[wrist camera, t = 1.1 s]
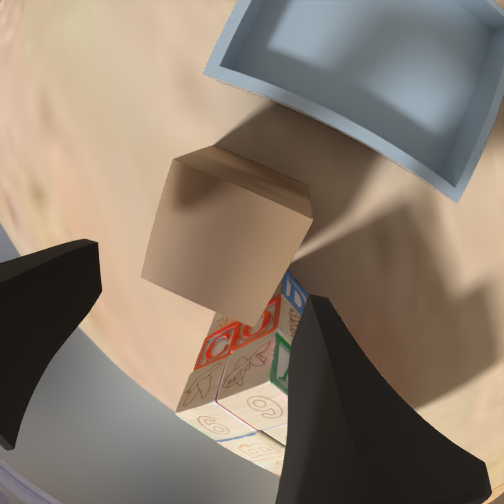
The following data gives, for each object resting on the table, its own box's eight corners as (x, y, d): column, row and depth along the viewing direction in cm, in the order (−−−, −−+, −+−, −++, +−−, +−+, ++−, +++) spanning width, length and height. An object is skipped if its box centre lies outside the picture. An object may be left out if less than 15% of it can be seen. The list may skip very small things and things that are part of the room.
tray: (495, 33, 9) (520, 26, 6) (434, 189, 15) (457, 203, 12) (302, -74, 8) (302, -98, 6) (218, 81, 14) (202, 73, 11)
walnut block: (307, 185, 16) (313, 220, 11) (266, 266, 19) (253, 327, 13) (213, 144, 16) (173, 159, 11) (183, 230, 18) (140, 277, 13)
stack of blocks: (214, 307, 21) (152, 462, 10) (285, 263, 19) (265, 446, 8) (349, 432, 26) (352, 531, 15) (401, 411, 24) (418, 514, 13)
